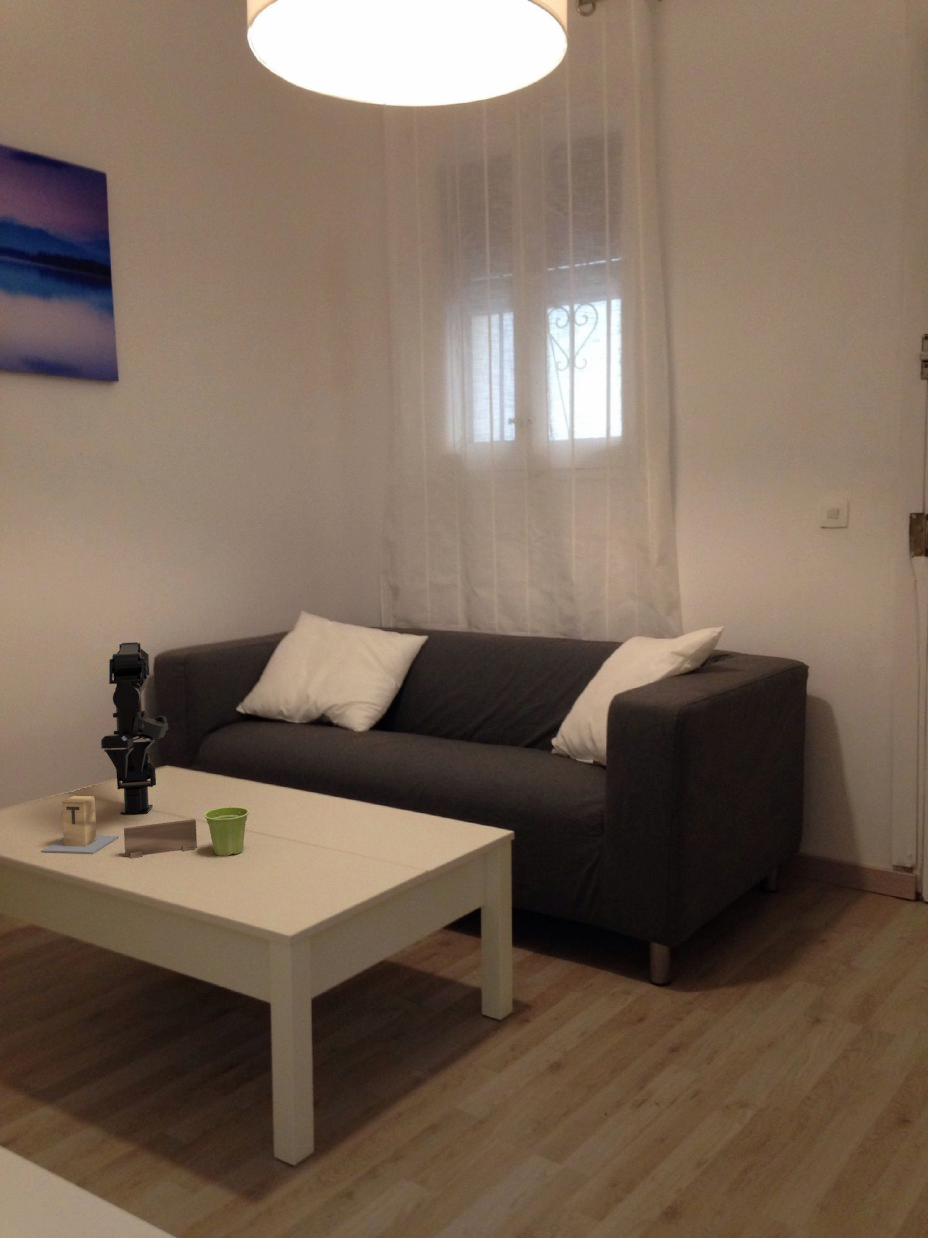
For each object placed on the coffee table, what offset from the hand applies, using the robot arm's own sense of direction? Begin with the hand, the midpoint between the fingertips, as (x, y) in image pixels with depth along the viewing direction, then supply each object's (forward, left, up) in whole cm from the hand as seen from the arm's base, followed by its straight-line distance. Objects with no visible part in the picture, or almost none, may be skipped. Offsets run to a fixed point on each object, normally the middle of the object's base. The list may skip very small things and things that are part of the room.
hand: (131, 775), depth 258 cm
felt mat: (+11, -9, -13) cm, 19 cm away
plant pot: (+20, +25, -13) cm, 34 cm away
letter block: (+11, -9, -13) cm, 19 cm away
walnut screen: (+18, +10, -13) cm, 24 cm away
